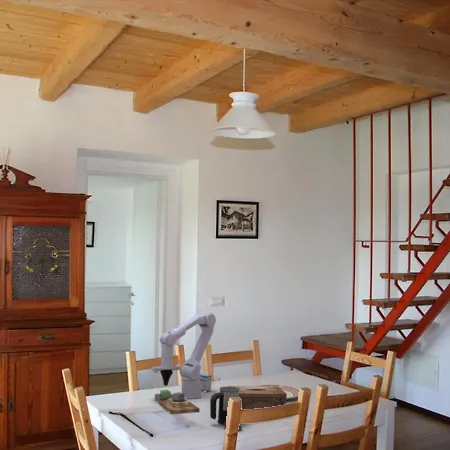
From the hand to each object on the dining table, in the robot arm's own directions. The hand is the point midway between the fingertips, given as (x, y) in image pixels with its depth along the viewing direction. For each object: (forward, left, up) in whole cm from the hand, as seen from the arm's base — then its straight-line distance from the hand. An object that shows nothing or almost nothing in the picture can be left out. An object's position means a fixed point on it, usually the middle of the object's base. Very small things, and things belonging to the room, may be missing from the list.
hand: (165, 385), depth 287 cm
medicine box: (-26, -14, -8) cm, 31 cm away
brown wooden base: (-2, +14, -8) cm, 16 cm away
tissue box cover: (-36, +28, -8) cm, 46 cm away
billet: (-2, +14, -6) cm, 15 cm away
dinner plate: (-59, +6, -8) cm, 60 cm away
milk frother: (-14, +46, -8) cm, 49 cm away
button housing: (0, 0, -8) cm, 8 cm away
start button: (0, 0, -5) cm, 5 cm away
